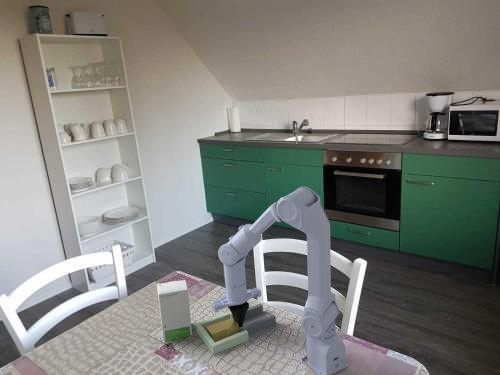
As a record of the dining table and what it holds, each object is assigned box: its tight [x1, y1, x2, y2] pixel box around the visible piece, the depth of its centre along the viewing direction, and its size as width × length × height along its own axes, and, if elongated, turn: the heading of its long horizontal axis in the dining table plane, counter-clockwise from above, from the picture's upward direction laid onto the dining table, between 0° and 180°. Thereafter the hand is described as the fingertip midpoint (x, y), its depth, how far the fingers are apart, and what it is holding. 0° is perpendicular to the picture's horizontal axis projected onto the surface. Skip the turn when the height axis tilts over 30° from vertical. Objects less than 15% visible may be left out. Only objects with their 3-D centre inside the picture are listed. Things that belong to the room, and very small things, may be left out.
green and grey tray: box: [194, 303, 280, 355], centre depth 113 cm, size 12×20×4 cm, turn 119°
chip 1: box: [206, 322, 226, 342], centre depth 110 cm, size 4×4×3 cm
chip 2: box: [220, 318, 240, 338], centre depth 112 cm, size 4×4×3 cm
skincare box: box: [156, 279, 193, 345], centre depth 112 cm, size 8×7×16 cm
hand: (239, 325), depth 113 cm, fingers closed
